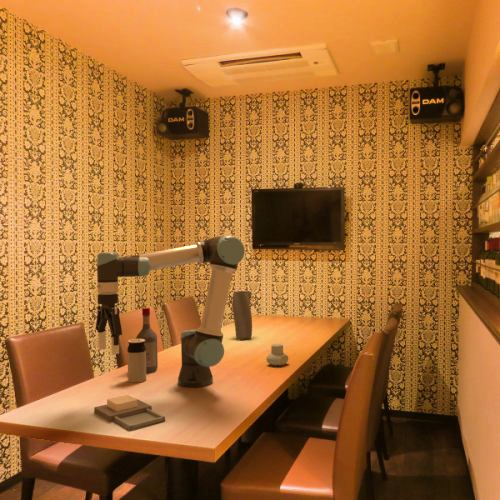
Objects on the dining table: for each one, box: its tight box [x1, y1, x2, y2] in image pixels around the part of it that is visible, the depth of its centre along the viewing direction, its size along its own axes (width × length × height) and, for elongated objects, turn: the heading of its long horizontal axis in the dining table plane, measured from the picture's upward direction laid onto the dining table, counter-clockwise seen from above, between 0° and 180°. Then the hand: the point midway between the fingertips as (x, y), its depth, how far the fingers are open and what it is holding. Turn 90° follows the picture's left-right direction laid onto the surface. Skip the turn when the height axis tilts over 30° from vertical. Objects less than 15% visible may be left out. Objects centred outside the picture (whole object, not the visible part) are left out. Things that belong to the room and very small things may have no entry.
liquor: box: [135, 307, 159, 374], centre depth 241 cm, size 9×9×30 cm
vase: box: [231, 290, 253, 341], centre depth 318 cm, size 12×12×30 cm
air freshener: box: [266, 343, 289, 367], centre depth 248 cm, size 11×8×10 cm
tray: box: [113, 409, 166, 432], centre depth 171 cm, size 13×12×2 cm
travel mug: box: [126, 338, 147, 383], centre depth 223 cm, size 8×8×18 cm
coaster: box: [106, 394, 139, 411], centre depth 181 cm, size 8×8×2 cm
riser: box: [93, 397, 153, 423], centre depth 181 cm, size 16×13×2 cm
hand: (108, 351), depth 189 cm, fingers open, 11 cm apart
